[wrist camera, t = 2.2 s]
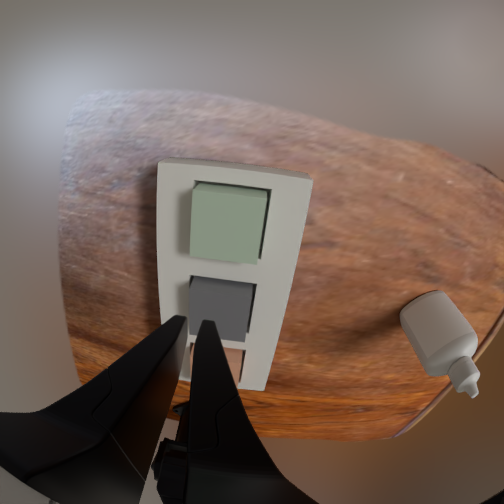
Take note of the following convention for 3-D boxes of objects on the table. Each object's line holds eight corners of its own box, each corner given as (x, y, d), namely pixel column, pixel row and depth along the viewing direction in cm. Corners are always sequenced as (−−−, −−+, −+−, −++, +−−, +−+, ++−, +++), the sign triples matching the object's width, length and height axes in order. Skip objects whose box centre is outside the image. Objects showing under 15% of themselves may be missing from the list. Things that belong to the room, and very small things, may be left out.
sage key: (257, 251, 20) (256, 264, 18) (196, 243, 20) (189, 256, 18) (266, 190, 18) (266, 198, 16) (199, 183, 18) (192, 190, 16)
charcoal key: (246, 326, 23) (244, 342, 21) (194, 318, 23) (189, 334, 21) (252, 282, 21) (251, 297, 19) (194, 274, 21) (189, 289, 19)
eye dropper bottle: (406, 289, 23) (465, 384, 12) (447, 288, 23) (508, 369, 12) (393, 324, 25) (437, 419, 14) (433, 321, 25) (482, 403, 14)
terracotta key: (238, 376, 26) (236, 391, 24) (194, 370, 26) (191, 385, 24) (242, 347, 24) (241, 363, 22) (194, 340, 24) (189, 356, 22)
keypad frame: (263, 372, 28) (263, 390, 26) (173, 359, 28) (167, 377, 26) (307, 173, 19) (313, 180, 17) (170, 157, 19) (157, 162, 17)
